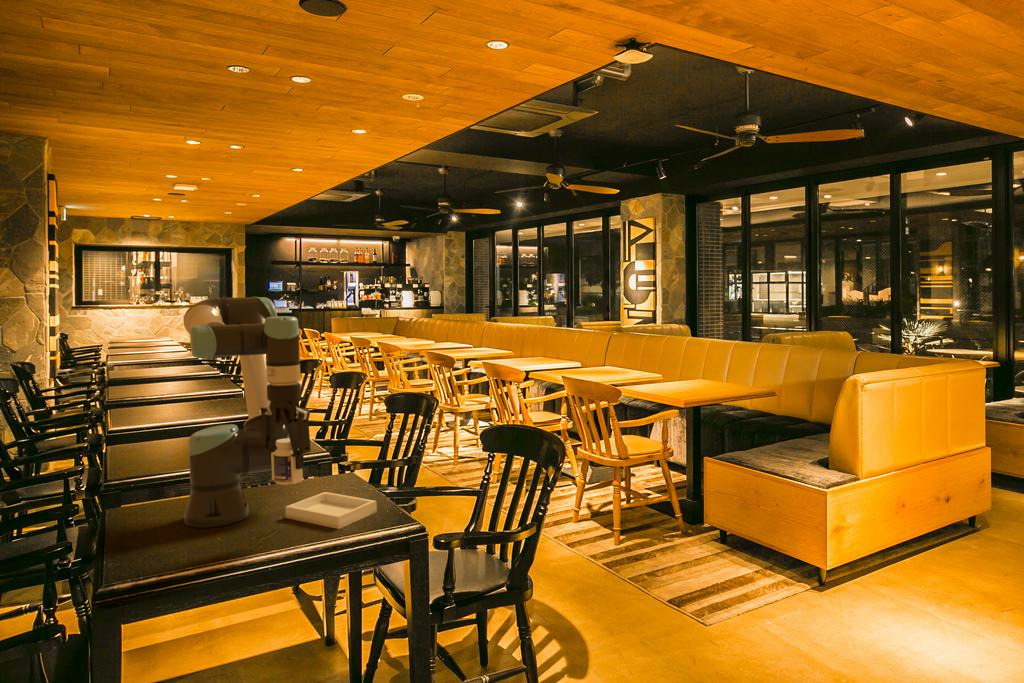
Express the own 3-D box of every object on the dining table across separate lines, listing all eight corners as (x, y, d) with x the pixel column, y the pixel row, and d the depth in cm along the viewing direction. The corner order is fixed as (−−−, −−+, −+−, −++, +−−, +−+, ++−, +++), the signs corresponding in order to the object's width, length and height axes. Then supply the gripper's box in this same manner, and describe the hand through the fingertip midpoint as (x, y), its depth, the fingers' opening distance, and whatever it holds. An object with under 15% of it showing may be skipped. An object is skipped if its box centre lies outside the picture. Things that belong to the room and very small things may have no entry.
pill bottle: (292, 485, 157) (290, 443, 156) (269, 484, 158) (268, 442, 157) (304, 478, 162) (303, 437, 161) (282, 477, 163) (281, 436, 162)
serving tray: (285, 518, 174) (285, 506, 174) (325, 502, 186) (324, 491, 186) (339, 529, 165) (338, 516, 165) (376, 512, 177) (376, 500, 177)
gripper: (242, 382, 159) (246, 479, 161) (301, 387, 150) (304, 490, 152) (268, 378, 166) (271, 471, 168) (325, 383, 157) (328, 481, 159)
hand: (287, 480), depth 160 cm, fingers closed on pill bottle, 6 cm apart
